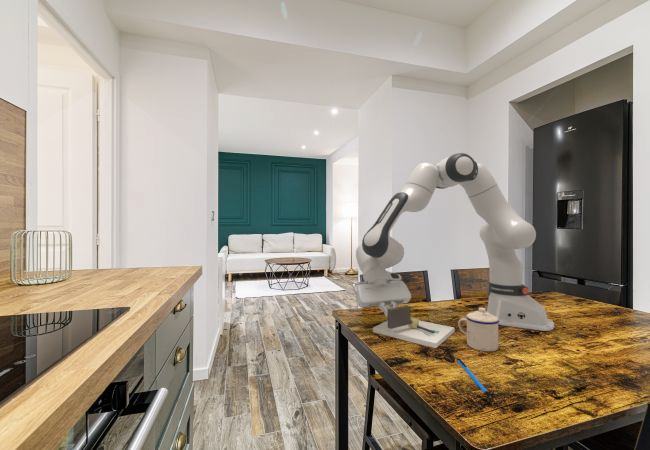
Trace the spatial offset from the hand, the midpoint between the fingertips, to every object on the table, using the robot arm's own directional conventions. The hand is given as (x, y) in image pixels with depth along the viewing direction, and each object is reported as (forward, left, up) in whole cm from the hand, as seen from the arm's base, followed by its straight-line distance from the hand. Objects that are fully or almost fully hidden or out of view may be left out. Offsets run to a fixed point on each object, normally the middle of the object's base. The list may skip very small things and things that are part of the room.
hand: (391, 315), depth 104 cm
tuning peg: (-6, -2, -5) cm, 8 cm away
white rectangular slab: (-4, -8, -7) cm, 11 cm away
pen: (-28, +12, -7) cm, 32 cm away
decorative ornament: (+14, -29, -7) cm, 33 cm away
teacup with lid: (-24, -10, -7) cm, 27 cm away
